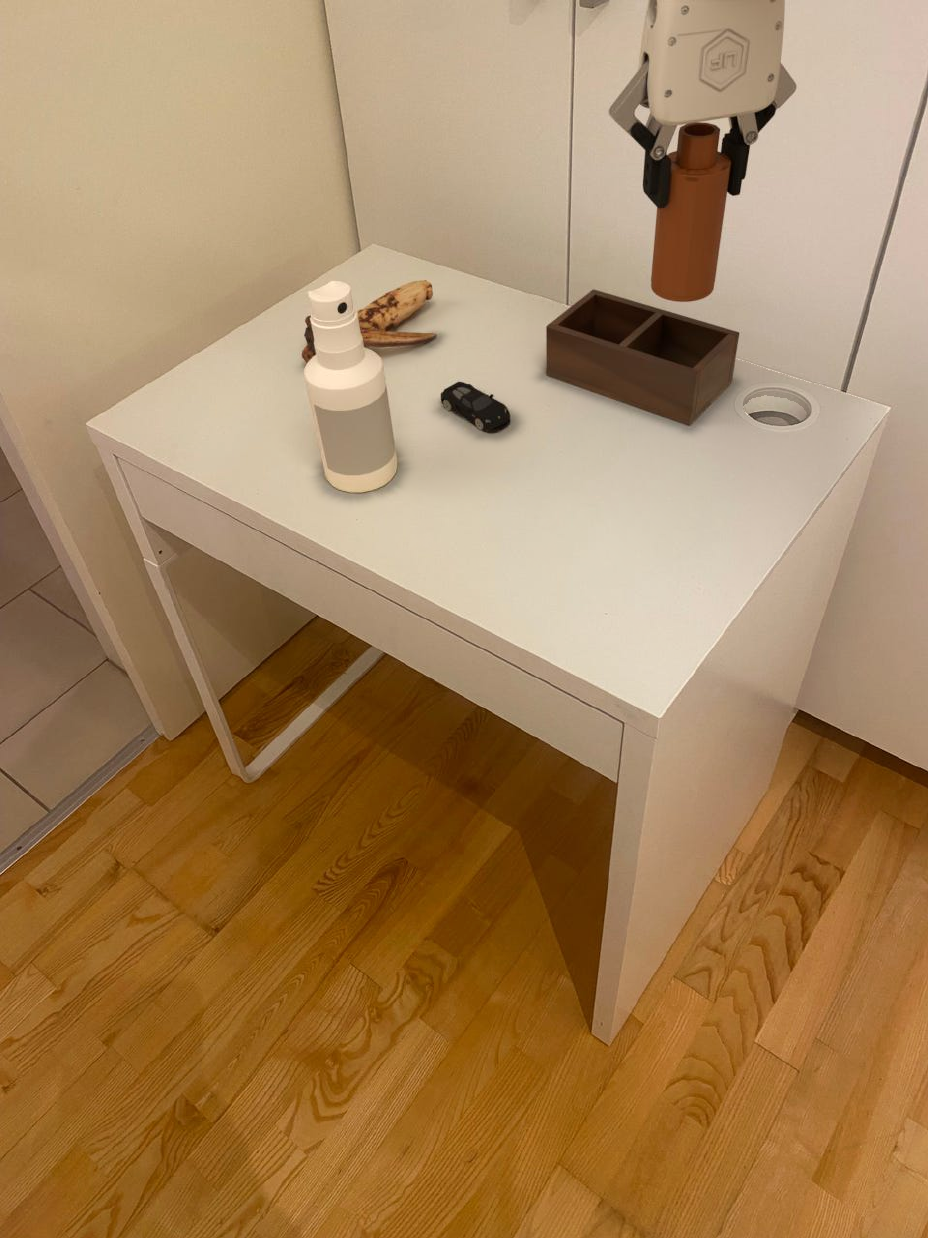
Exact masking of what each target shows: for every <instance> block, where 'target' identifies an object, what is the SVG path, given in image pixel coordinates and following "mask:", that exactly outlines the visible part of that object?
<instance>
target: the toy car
mask: <svg viewBox="0 0 928 1238" xmlns="http://www.w3.org/2000/svg"><path fill="white" fill-rule="evenodd" d="M494 396H495V395H494V394H493V393H492V394H489V395H488V394H486V393H485V392H483V391H481V390H479V389H477V388H475V386H474V385H472V384H470V383H466V382H464V381H457V382H455V383H454V384H453V383H452V384H451V385H449V386H447V387H446V388H444V389H443V391H442V392H441V393H440V403H441V404H443V407H444V408H445V409H446V411H448V412H451V411H453V412H454V413H455V414H456V415H459V416H460V417H463V418H464V419H465V420H467V421H468V422H470V423H471V424H473V425H474V426H476V428H478V429H479V430H481V431H483V432H491V433H493V432H498V431H500V430H502V429H504V428H506V427H507V426H508V425H509V424H510V423H511V413H510V411H509V409H508V406H506V405H505V404H504V403H503V402H501V401H499V400H497V399H495V398H494Z"/></svg>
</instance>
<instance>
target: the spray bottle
mask: <svg viewBox="0 0 928 1238" xmlns="http://www.w3.org/2000/svg"><path fill="white" fill-rule="evenodd" d="M307 296H308V302H309V307H310V316H311V318H310V320H311V325H312V330H313V335H314V340H315V341H314V346H315V351H316V355H315V356H313V357H312V359H311V360H310V361H309V362H308V363H306V364H305V367H304V369H303V379H304V383H305V387H306V392H307V396H308V401H309V406H310V412H311V415H312V420H313V424H314V429H315V434H316V439H317V444H318V449H319V452H320V456H321V457H320V458H321V461H322V466H323V471H324V475H325V479H326V480H327V481H328V482H329V483H330V485H331V486H333V487H334V488H335V489H337V490H339V491H343V492H346V493H365V492H371V491H374V490H377V489H379V488H382V487H384V486H385V485H386V484H388V483H389V482H390V481H391V480H392V479H393V478H394V476H395V475H396V473H397V470H398V465H399V464H398V463H399V462H398V456H397V450H396V443H395V436H394V429H393V428H394V427H393V423H392V422H393V421H392V415H391V408H390V401H389V394H388V388H387V381H386V374H385V367H384V363H383V360H382V357H381V356H380V355H379V354H378V353H376V351H374V350H372V349H370V348H369V347H365V346H364V345H363V338H362V335H361V332H360V326H359V320H358V314H357V311H358V310H357V309H356V307H355V305H354V301H353V300H354V299H353V295H352V289H351V286H350V285H349V284H348V283H346V282H344V281H339V280H331V281H329V282H328V283H326V284H325V285H322V286H320V287H319V288H316V289H313V290H308V292H307Z"/></svg>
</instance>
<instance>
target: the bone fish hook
mask: <svg viewBox="0 0 928 1238" xmlns="http://www.w3.org/2000/svg"><path fill="white" fill-rule="evenodd" d="M433 295H434V292H433V284H432V283H431V282H430V281H427V279H424V280H415V281H414V280H413V281H411V282H407V283H406V284H403V285H401V286H399V287H397V288H395V289H394V290H391V291H388V292H385V294H383V295H382V296H380V297H378V298H376V299H375V300H373V301H372V302H370V303H369V304H368V305H366V306H365V307H364V308H362V309H359V310H356V311H357V314H358V320H359V326H360V332H361V335H362V338H363V345H364V347H365V348H371V347H372V348H397V347H410V346H411V347H412V346H419V345H424V344H427V343H429V342H431V341H433V340H435V339H436V338H437V336H438V335H437V333H434V332H416V331H415V332H413V331H392V330H393V329H396V327H397V326H398V325H399V324H400V323H401V322H403V321H404V320H406V319H407V318H409V317H410V316H411V315H412V314H413V313H414V312H416V311H418V310H419V309H420V308H421V307H423V306H424V305H425V304H426V301H430V300H432V298H433ZM310 318H311V315H307V316H306V317H305V319H304V322H305V325H306V328H305V329H304V330H305V331H304V334H303V336H304V338H305V341H306V345H305V346H304V348H303V350H301V358H302V359H303V360H304V362H305V363H306V364H307V363H308V362H309V361H310V360H311V359H312V357H313V356H315V355H316V351H315V346H314V341H315V340H314V335H313V330H312V325H311V320H310Z"/></svg>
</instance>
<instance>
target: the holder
mask: <svg viewBox="0 0 928 1238" xmlns="http://www.w3.org/2000/svg"><path fill="white" fill-rule="evenodd" d="M545 329H546V330H545V332H546V334H545V335H546V338H545V339H546V340H545V343H546V344H545V345H546V348H545V351H546V352H545V353H546V357H545V359H546V362H545V363H546V364H545V365H546V366H545V367H546V368H545V369H546V370H545V373H546V374H545V375H546V376H547V377H550V378H553V379H556V380H558V381H561V382H564V383H566V384H570V385H573V386H575V387H578V388H581V389H584V390H586V391H589V392H592V393H595V394H598V395H600V396H604V397H607V398H609V399H611V400H615V401H618V402H620V403H624V404H626V405H630V406H632V407H635V408H638V409H641V410H643V411H646V412H648V413H652V414H655V415H657V416H661V417H664V418H665V419H669V420H672V421H675V422H677V423H680V424H683V425H686V426H690V427H691V425H692V424H693V423H694V422H695V421H696V420H697V419H698V418H699V417H700V416H701V415H702V414H703V413H704V412H705V411H706V410H707V409H708V408H709V407H710V406H711V405H712V404H713V403H714V402H715V401H716V399H717V398H719V396H721V395H722V394H723V392H725V390H726V389H727V388H728V387H729V386H730V385H731V384H732V382H733V376H734V371H735V365H736V357H737V351H738V347H739V346H738V345H739V339H740V332H739V331H736V330H733V329H729V328H726V327H723V326H719V325H716V324H713V323H709V322H706V321H702V320H699V319H696V318H692V317H688V316H685V315H683V314H679V313H676V312H672V311H669V310H665V309H661V308H660V307H659V308H658V307H655V306H652V305H649V304H645V303H642V302H638V301H635V300H631V299H628V298H625V297H622V296H618V295H614V294H611V293H607V292H604V291H601V290H598V289H591V290H590V291H589V292H587V293H586V294H585V295H584V296H583V297H581V298H580V299H579V300H577V301H576V302H575V303H573V305H571V306H570V307H569V308H567V309H566V310H565V311H563V312H562V313H561V314H560V315H558V316H557V317H556V318H555V319H553V320H552V321H551V322H550V323H548V324H547V325H546V326H545Z"/></svg>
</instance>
